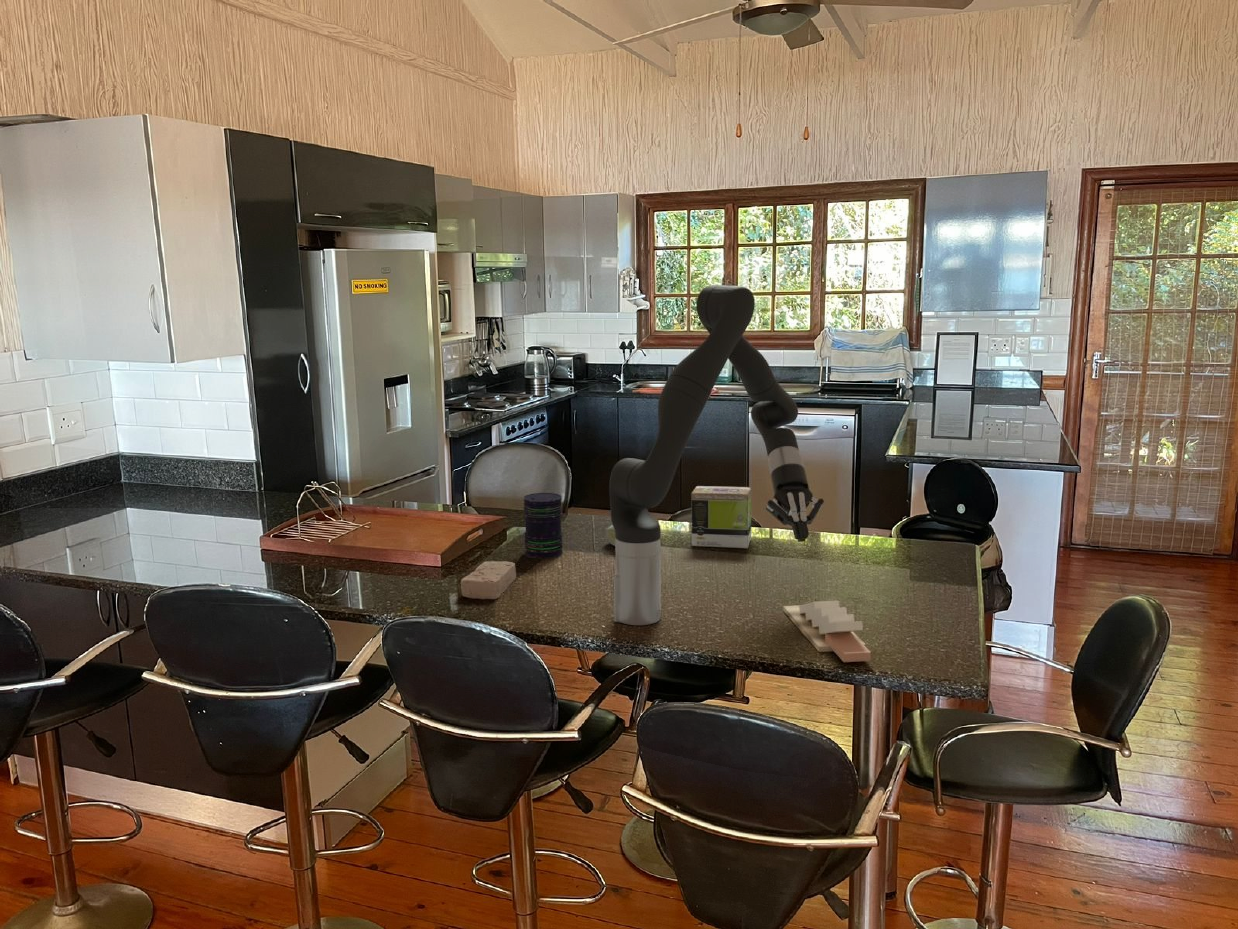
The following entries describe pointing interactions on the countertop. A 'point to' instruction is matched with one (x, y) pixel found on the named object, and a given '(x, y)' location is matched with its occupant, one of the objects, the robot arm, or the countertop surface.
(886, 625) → the countertop surface
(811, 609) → the tile
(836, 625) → the tile
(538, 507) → the storage jar
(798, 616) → the domino board
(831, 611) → the tile
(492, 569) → the brick
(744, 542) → the tea box
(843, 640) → the tile
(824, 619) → the tile
